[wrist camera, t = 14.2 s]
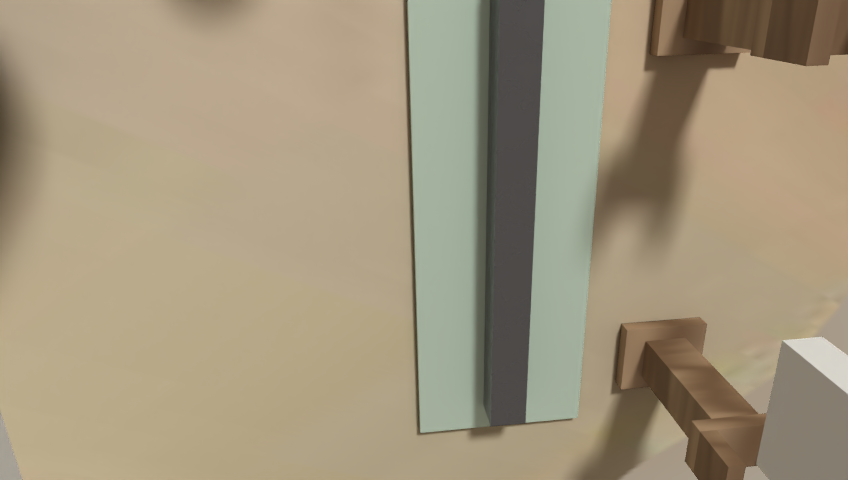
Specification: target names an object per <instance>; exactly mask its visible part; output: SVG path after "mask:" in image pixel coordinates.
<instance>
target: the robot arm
mask: <svg viewBox="0 0 848 480" xmlns="http://www.w3.org/2000/svg"><path fill="white" fill-rule="evenodd" d="M756 465H757V466H758V467H759V468H760V469H761V470H762V472H763V473H764V474H765V475H766V476H767V477H768V479H770V480H848V356H847V355H846V354H845V353H843V352H842V351H840V350H839V349H838V348H837V347H835V346H834V345H832V344H831V343H830V342H829V341H827V340H826V339H824V338H823V337H816V338H804V339H793V340H782V344H781V349H780V354H779V358H778V363H777V368H776V373H775V377H774V382H773V387H772V391H771V396H770V401H769V406H768V410H767V415H766V420H765V424H764V429H763V434H762V438H761V443H760V448H759V453H758V457H757V462H756ZM0 480H22V477H21V474H20V471H19V468H18V465H17V462H16V459H15V455H14V452H13V449H12V446H11V443H10V440H9V437H8V434H7V430H6V427H5V424H4V421H3V418H2V415H1V412H0Z"/></svg>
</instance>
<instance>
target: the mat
mask: <svg viewBox="0 0 848 480" xmlns="http://www.w3.org/2000/svg"><path fill="white" fill-rule="evenodd" d="M610 13H611V0H545V8H544V30H543V52H542V74H541V95H540V117H539V139H538V161H537V183H536V205H535V227H534V249H533V271H532V293H531V315H530V337H529V358H528V380H527V402H526V423H528V422H538V421H549V420H559V419H569V418H578V408H579V396H580V383H581V371H582V359H583V346H584V334H585V322H586V309H587V297H588V285H589V272H590V260H591V247H592V235H593V223H594V210H595V198H596V186H597V173H598V161H599V149H600V136H601V124H602V111H603V99H604V87H605V74H606V62H607V50H608V37H609V25H610ZM489 18H490V0H407V23H408V57H409V90H410V124H411V157H412V191H413V224H414V258H415V291H416V325H417V358H418V392H419V426H420V433H425V432H435V431H446V430H456V429H466V428H477V427H487V426H490V423H489V420H488V417H487V414H486V411H485V408H484V405H483V396H484V333H485V270H486V207H487V144H488V81H489Z"/></svg>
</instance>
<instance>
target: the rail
mask: <svg viewBox="0 0 848 480" xmlns="http://www.w3.org/2000/svg"><path fill="white" fill-rule="evenodd" d="M544 8H545V0H490V18H489V81H488V144H487V207H486V270H485V333H484V396H483V405H484V408H485V411H486V414H487V417H488V420H489V423H490V426H500V425H510V424H521V423H526V402H527V380H528V358H529V337H530V315H531V293H532V271H533V249H534V227H535V205H536V183H537V161H538V139H539V117H540V95H541V74H542V52H543V30H544Z"/></svg>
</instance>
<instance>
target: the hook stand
mask: <svg viewBox="0 0 848 480" xmlns="http://www.w3.org/2000/svg"><path fill="white" fill-rule="evenodd" d="M747 52H751V53H750V55H751V56H757V57H762V58H767V59H772V60H777V61H783V62H788V63H793V64H798V65H803V66H818V65H828V64H829V59H830V55H845V54H848V0H656V1H655V11H654V20H653V30H652V39H651V49H650V54H651V55H655V56H669V55H695V54H721V53H747ZM706 327H707V324H706V323H705V322H704V321H703V320H702V319H701V318H700V317H698V318H686V319H674V320H662V321H650V322H638V323H625V324H622V326H621V335H620V345H619V355H618V364H617V374H616V383H617V385H618V386H619V387H620V389H632V388H643V387H650V388H651V389H652V391H653V392H654V393H655V395H656V396H657V397H658V399H659V400H660V401H661V403H662V404H663V405H664V406H665V408H666V409H667V410H668V412H669V413H670V414H671V416H672V417H673V418H674V420H675V421H676V422H677V424H678V425H679V426H680V428H681V429H682V430H683V432H684V433H685V434H686V435H687V437H688V438H689V439H688V446H687V452H686V458H685V462H686V463H687V465H688V466H689V467H690V469H691V470H692V472H693V473H694V474H695V476H696V477H697V479H698V480H743V478H744V473H745V468H746V467H748V466H757V465H756V462H757V457H758V453H759V448H760V443H761V438H762V434H763V429H764V424H765V420H766V415H767V413H764V414H758V413H757V412H756V411H755V410H754V409H753V408H752V406H751V405H750V404H749V403H748V402H747V401H746V400H745V399H744V398H743V397H742V396H741V395H740V394H739V393H738V392H737V391H736V390H735V389H734V388H733V387H732V386H731V385H730V384H729V383H728V382H727V380H726V379H725V378H724V377H723V376H722V375H721V374H720V373H719V372H718V371H717V370H716V369H715V368H714V367H713V366H712V365H711V364H710V363H709V362H708V361H707V360H706V359H705V358H704V357H703V355H702V352H703V346H704V339H705V333H706Z"/></svg>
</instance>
